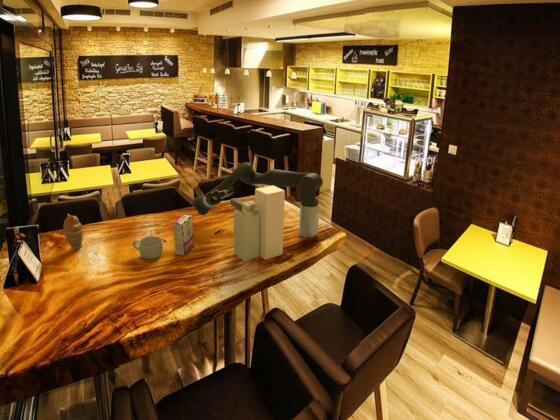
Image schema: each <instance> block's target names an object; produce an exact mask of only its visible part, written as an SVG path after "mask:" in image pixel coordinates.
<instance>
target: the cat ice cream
mask: <svg viewBox="0 0 560 420" xmlns="http://www.w3.org/2000/svg"><path fill="white" fill-rule="evenodd" d="M62 228H63V230H64V231H63V235H64V236H65V240H66V241H67V244H68V245H69V246H70V248H71V249H72V250H73V251H76V250H77V251H79V249H80V248H82V246H83V244H82V243H83V235H84V234H83V230H84V229H83V225H82V223H81V222H80V219H79V218H78V217H77V215H70V214H69V213H67V217H66V218H65V219H64V222H63V227H62ZM80 250H81V249H80Z"/></svg>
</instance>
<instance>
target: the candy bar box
mask: <svg viewBox="0 0 560 420" xmlns="http://www.w3.org/2000/svg"><path fill="white" fill-rule="evenodd" d="M193 224H194V223H193V215H188V214H182V215H181V216H179V217H178V218H177V219H176V220H175V221H174V222H173V223H172V228H173V230H172V231H173V239H174V249H175V255H177V256H182V257H185V256H187V254H188V253H189V252H190V251H191V250H192V249H193V248H194V247H195V238H194V226H193Z"/></svg>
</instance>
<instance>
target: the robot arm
mask: <svg viewBox="0 0 560 420" xmlns="http://www.w3.org/2000/svg"><path fill="white" fill-rule="evenodd" d="M237 179H239V180H241V182H242V183H244V184H247V185H265V186H276V187H278V188H291V187H299V188H298V189H299V190H298V191H299V192H298V194H299V196H298V197H299V201H300V205H299V206H300V209H299V226H298V228H299V229H298V235H299V236H300V237H301V238H311V239H312V238H314V237H316V236H317V235H319V234H318V230H319V219H320V218H319V217H318V211H319V199H318V198H317V197H316V191H317V190H319V189H320V188H321V187H322V186H323V183H324V182H323V178H322V177H321V176H320V175H319V174H317V173H315V172H296V171H290V170H282V169H275V168H273V169H269V170H268V171H266V172H265V173H259V172H256V171H255V169H254V168H253V166H252V164H251V163H250V162H247V161H246V162H242V163H240V164H239V165H238V166H237V167H236V168H234V170H233V171H231V173H229V174H228V176H226V178H225V179H224V180H223V181H222V182H220V183H219V184H218V185H217V186H215V187H213V189H211V190H210V191H208V192H207V193H206V194H205V195H201V196H200V195H198V196H196V197H195V198H193V199H192V202H191V203H192V206H193V207H194V209H195V211H197V213H198V214H199V215H200V216H206V215H207V214H208V213H209V212H210V210H211V209H212V208H213V207H215V206H217V205H219V204H220V203H221V202H222V201H223V199H224V198H227V197H230V196H232V195H234V194H235V188H234V187H232V186H233V184H234V183H235V181H237Z"/></svg>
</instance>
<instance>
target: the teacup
mask: <svg viewBox="0 0 560 420" xmlns="http://www.w3.org/2000/svg"><path fill="white" fill-rule="evenodd" d="M163 242H164V241H163V238H162V237H160V236H157V235H150V236H149V235H148V236H145V237H143V238H141V239H135V240H133V241H132V246H133V248H134V249H135V250H138V252H139V254H140V256H141V257H142V258H143V259H146V260H155V259H157V258H159V257H160V256H161V255H162V254H163V252H164V245H163V244H164V243H163ZM136 243H137V244H136ZM137 245H138V246H137Z"/></svg>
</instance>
